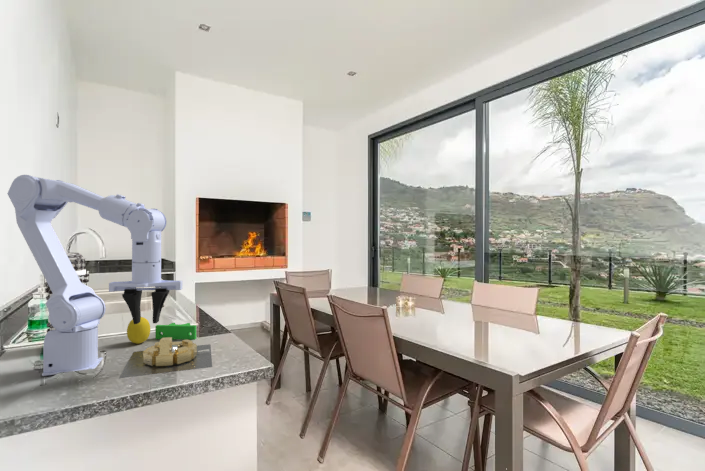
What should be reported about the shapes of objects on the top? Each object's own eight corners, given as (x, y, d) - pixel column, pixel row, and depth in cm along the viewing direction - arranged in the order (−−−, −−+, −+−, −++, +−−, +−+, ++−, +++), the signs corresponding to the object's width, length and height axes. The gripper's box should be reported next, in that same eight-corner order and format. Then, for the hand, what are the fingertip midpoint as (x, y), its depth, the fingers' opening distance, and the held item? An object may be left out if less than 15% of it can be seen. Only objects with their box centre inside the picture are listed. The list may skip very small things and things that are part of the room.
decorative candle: (87, 349, 97) (87, 253, 96) (41, 355, 92) (41, 254, 92) (90, 340, 104) (90, 251, 104) (47, 345, 100) (48, 252, 99)
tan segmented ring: (152, 351, 93) (152, 328, 93) (199, 349, 95) (199, 326, 95) (137, 367, 82) (137, 341, 82) (190, 364, 84) (190, 339, 84)
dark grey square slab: (119, 380, 77) (119, 364, 77) (133, 354, 93) (133, 340, 93) (212, 369, 83) (212, 354, 83) (210, 346, 100) (210, 333, 100)
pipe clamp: (200, 338, 108) (200, 323, 108) (194, 342, 105) (194, 326, 105) (162, 337, 109) (162, 322, 108) (155, 341, 105) (155, 325, 105)
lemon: (154, 344, 102) (154, 315, 101) (133, 349, 97) (133, 319, 97) (143, 341, 105) (144, 312, 105) (122, 345, 100) (122, 316, 100)
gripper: (102, 263, 78) (102, 328, 78) (177, 263, 81) (176, 325, 81) (116, 261, 85) (116, 320, 85) (184, 260, 88) (184, 318, 88)
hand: (146, 322), depth 83 cm, fingers open, 3 cm apart
